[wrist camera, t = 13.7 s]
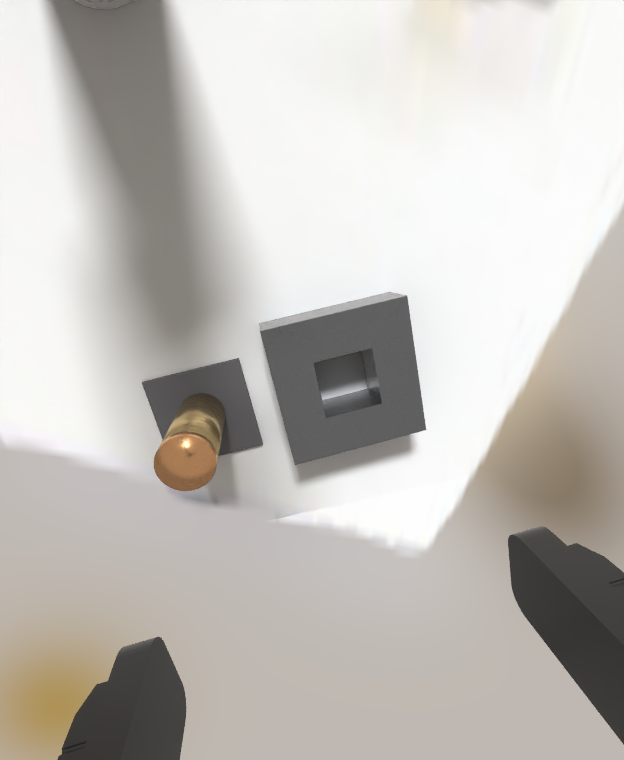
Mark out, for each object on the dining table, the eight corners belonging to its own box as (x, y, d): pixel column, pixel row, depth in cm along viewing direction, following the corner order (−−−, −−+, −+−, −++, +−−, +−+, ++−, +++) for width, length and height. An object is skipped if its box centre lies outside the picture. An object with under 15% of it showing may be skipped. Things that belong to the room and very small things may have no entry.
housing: (259, 323, 41) (260, 331, 36) (389, 292, 42) (407, 295, 37) (290, 443, 45) (295, 464, 40) (408, 412, 46) (426, 429, 41)
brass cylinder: (172, 399, 41) (145, 445, 31) (218, 388, 42) (206, 429, 31) (187, 440, 43) (165, 497, 32) (230, 429, 43) (223, 481, 33)
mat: (142, 381, 41) (141, 382, 40) (238, 358, 41) (238, 358, 41) (173, 466, 44) (173, 467, 43) (262, 442, 44) (262, 444, 44)
